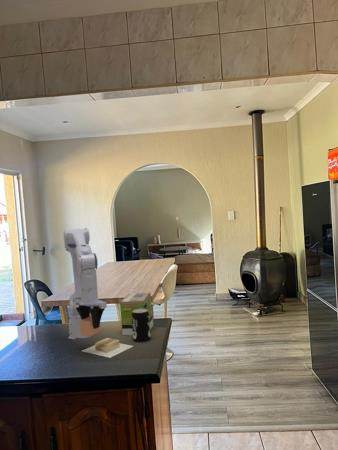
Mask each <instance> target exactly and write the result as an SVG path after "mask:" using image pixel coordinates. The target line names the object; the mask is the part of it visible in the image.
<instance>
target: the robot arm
mask: <svg viewBox="0 0 338 450" xmlns="http://www.w3.org/2000/svg"><path fill="white" fill-rule="evenodd" d="M63 243H64V248H65V251H66V252H69V253H70V257H71V263H72V274H73V281H74V290H75V291H74V292H73V293H72V294H71V295H70V296H69V299H68V300H69V301H68V304H69V305H68V306H69V315H70V317H69V320H68V329H69V330H68V333H69V336H67V338H68V339H69V340H76V339H86V338H87V339H88V338H91V337H93V336H94V335H92V336H90V337H88V336H83V335H81V332H80V324H79V321H80V320H83V319H85V318H88V317H92V322H93V327H94V329H96V328H98V327H99V328H100V326H101V325H100V324H101V320H102V315H103V313H104V311H105V309H106V308H108V307H107V306H108V305H107V301H103V300H100V299H99V295H98V281H97V269H98V265H99V264H98V261H99V260H98V258H97V257H98V256H97V254H96V253H94V252H93V250H92V247H91V246H90V245H89V244H90V230H89V229H88V228H87V227H85V228H75V229H74V228H72V229H71V228H70V229H64V230H63Z"/></svg>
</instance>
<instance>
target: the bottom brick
mask: <svg viewBox="0 0 338 450" xmlns="http://www.w3.org/2000/svg"><path fill="white" fill-rule="evenodd" d="M119 343H120V339H115V338H109V337H106V338H104V339H101V340H99V341H96V342H94V345H95V349H96V350H98V351H102V352H107V353H108V352H110V351H112V350H115V349H117V348H119V347H120V344H119Z"/></svg>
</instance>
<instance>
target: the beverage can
mask: <svg viewBox="0 0 338 450" xmlns="http://www.w3.org/2000/svg"><path fill="white" fill-rule="evenodd" d="M132 312H133V313H132V331H133V335H132V341H133V342H134V343H146V342H149V341H150V340H152V339H151V330H150V322H149V313H148V310H147V309H143V308H142V309H135V310H133V311H132Z"/></svg>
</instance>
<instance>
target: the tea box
mask: <svg viewBox="0 0 338 450" xmlns="http://www.w3.org/2000/svg"><path fill="white" fill-rule="evenodd" d="M151 296H152V295H151V292H135V293H134V292H133V293H128V294H127V295H126V296H125V297H124V298H123V299H121V300H120V301H119V309H120V320H121V323H120V324H121V333H122V334H121V335H122V336H133V331H132V313H133V312H132V311H133V310H135V309H142V308H143V309H147V310H148V313H149V322H150V331H151V330H152V328H153V326H154V319H153V306H152V297H151Z"/></svg>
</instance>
